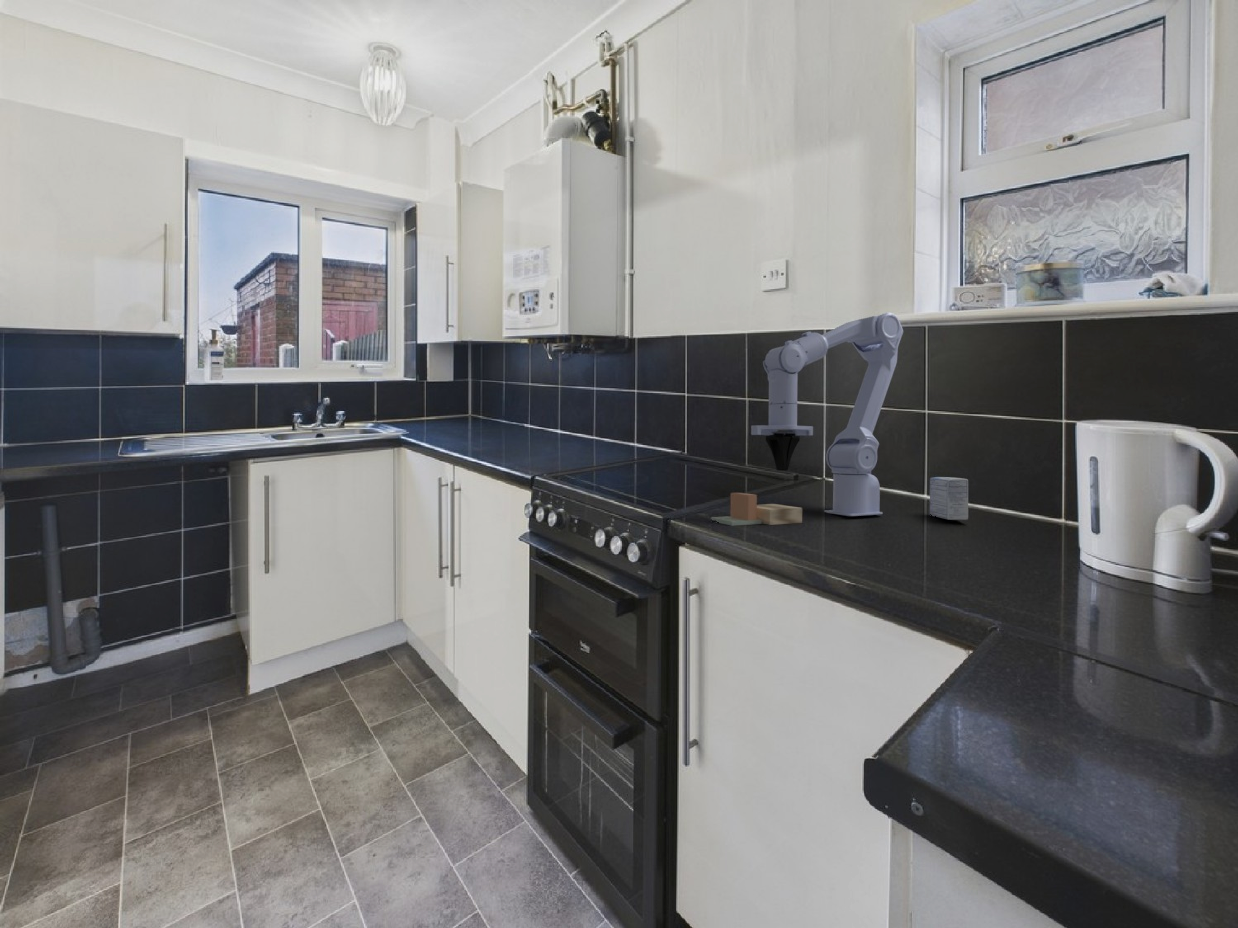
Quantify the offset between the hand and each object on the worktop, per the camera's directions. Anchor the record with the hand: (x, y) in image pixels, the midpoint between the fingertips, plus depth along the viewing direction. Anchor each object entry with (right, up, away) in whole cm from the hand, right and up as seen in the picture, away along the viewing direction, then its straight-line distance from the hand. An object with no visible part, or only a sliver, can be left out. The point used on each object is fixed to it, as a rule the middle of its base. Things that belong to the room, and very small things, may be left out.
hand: (782, 470), depth 126 cm
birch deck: (-2, -10, -1) cm, 11 cm away
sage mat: (-10, -11, -4) cm, 15 cm away
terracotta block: (-8, -7, -3) cm, 11 cm away
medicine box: (+37, -11, +5) cm, 39 cm away
